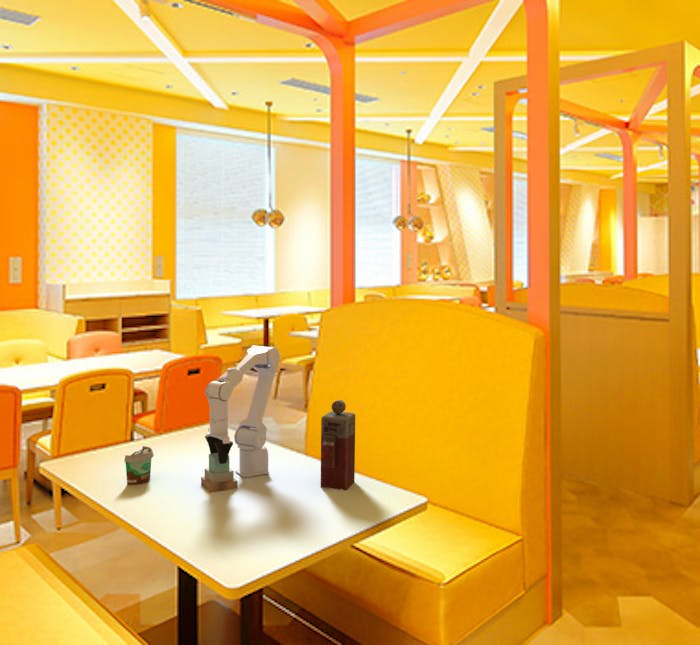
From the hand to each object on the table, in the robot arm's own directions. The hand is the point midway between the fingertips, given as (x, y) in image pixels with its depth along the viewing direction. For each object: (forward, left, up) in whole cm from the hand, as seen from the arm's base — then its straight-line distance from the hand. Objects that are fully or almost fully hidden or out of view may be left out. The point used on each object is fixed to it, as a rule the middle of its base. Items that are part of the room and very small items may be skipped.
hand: (218, 460), depth 218 cm
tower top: (0, 0, -6) cm, 6 cm away
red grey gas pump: (-34, +17, -9) cm, 39 cm away
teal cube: (0, 0, -3) cm, 3 cm away
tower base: (0, 0, -9) cm, 9 cm away
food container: (+20, -17, -9) cm, 28 cm away
